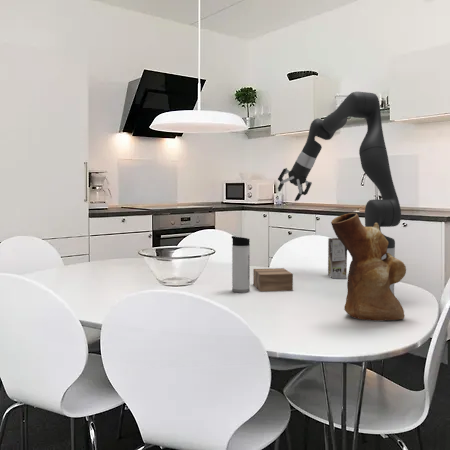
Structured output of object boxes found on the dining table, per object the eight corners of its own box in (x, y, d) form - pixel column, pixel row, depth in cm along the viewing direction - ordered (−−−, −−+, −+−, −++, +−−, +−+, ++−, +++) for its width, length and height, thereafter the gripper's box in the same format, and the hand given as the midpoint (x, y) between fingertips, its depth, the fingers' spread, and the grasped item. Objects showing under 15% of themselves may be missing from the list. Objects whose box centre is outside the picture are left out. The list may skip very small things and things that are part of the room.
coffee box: (347, 278, 213) (347, 239, 212) (331, 278, 213) (332, 239, 212) (342, 275, 222) (343, 237, 221) (327, 275, 222) (328, 237, 221)
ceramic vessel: (415, 322, 143) (418, 213, 141) (342, 326, 138) (343, 214, 136) (386, 309, 158) (388, 211, 156) (319, 312, 154) (320, 212, 152)
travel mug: (228, 290, 188) (228, 235, 187) (245, 289, 191) (245, 234, 189) (235, 293, 182) (235, 237, 181) (252, 292, 185) (252, 236, 184)
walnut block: (292, 290, 188) (292, 274, 187) (260, 291, 186) (260, 274, 186) (283, 283, 202) (283, 268, 201) (253, 284, 200) (253, 268, 200)
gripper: (287, 156, 222) (271, 189, 228) (316, 172, 218) (299, 205, 224) (292, 155, 229) (276, 186, 235) (320, 170, 225) (303, 202, 231)
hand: (287, 195), depth 230 cm, fingers open, 8 cm apart
